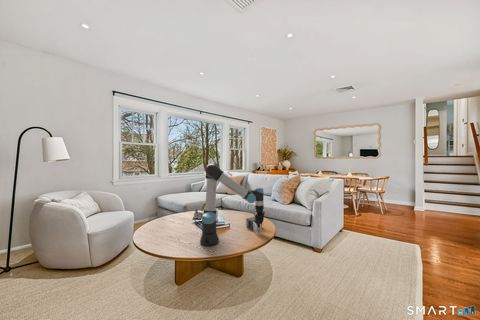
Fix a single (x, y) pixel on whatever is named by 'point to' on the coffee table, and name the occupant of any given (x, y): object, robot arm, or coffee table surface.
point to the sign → (198, 216)
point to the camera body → (251, 223)
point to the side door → (255, 228)
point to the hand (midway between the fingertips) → (259, 230)
